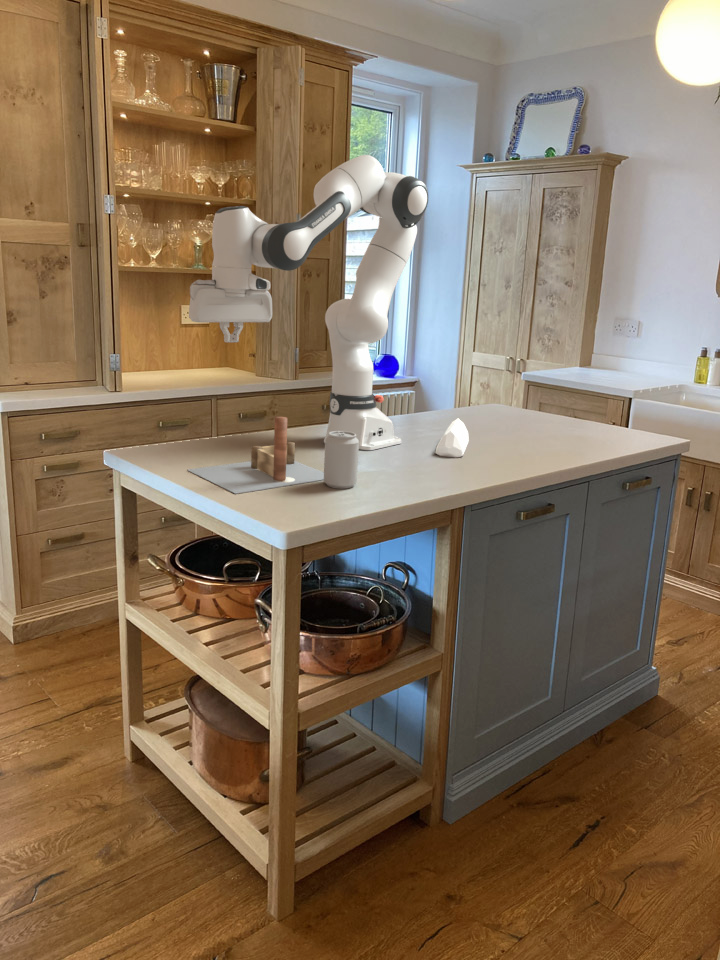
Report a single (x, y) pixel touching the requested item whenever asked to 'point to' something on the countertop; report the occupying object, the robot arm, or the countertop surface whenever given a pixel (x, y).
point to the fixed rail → (270, 449)
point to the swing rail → (275, 452)
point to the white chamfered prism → (453, 440)
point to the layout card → (255, 476)
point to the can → (341, 459)
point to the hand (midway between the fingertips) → (231, 342)
